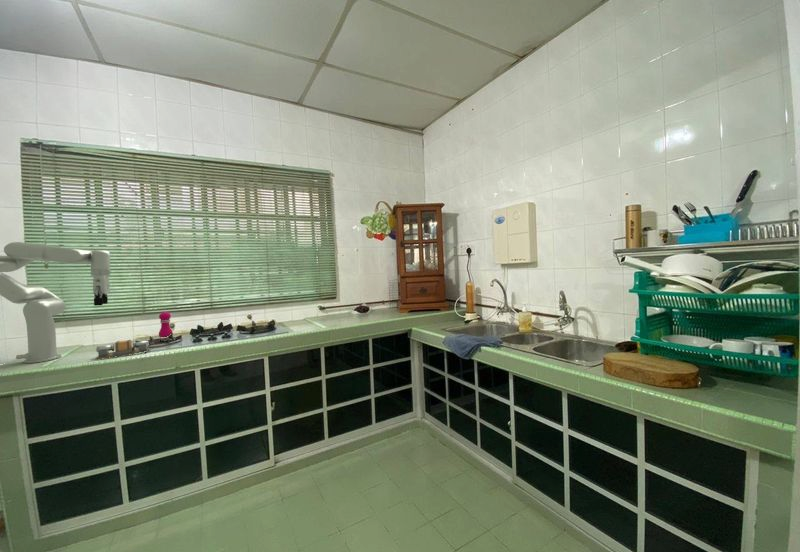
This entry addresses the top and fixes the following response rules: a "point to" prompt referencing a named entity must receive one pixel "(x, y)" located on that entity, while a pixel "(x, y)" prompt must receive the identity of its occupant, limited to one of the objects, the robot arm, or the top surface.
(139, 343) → the shaft bench
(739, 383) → the top surface
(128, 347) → the block
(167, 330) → the pepper mill
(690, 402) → the top surface
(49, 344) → the robot arm
